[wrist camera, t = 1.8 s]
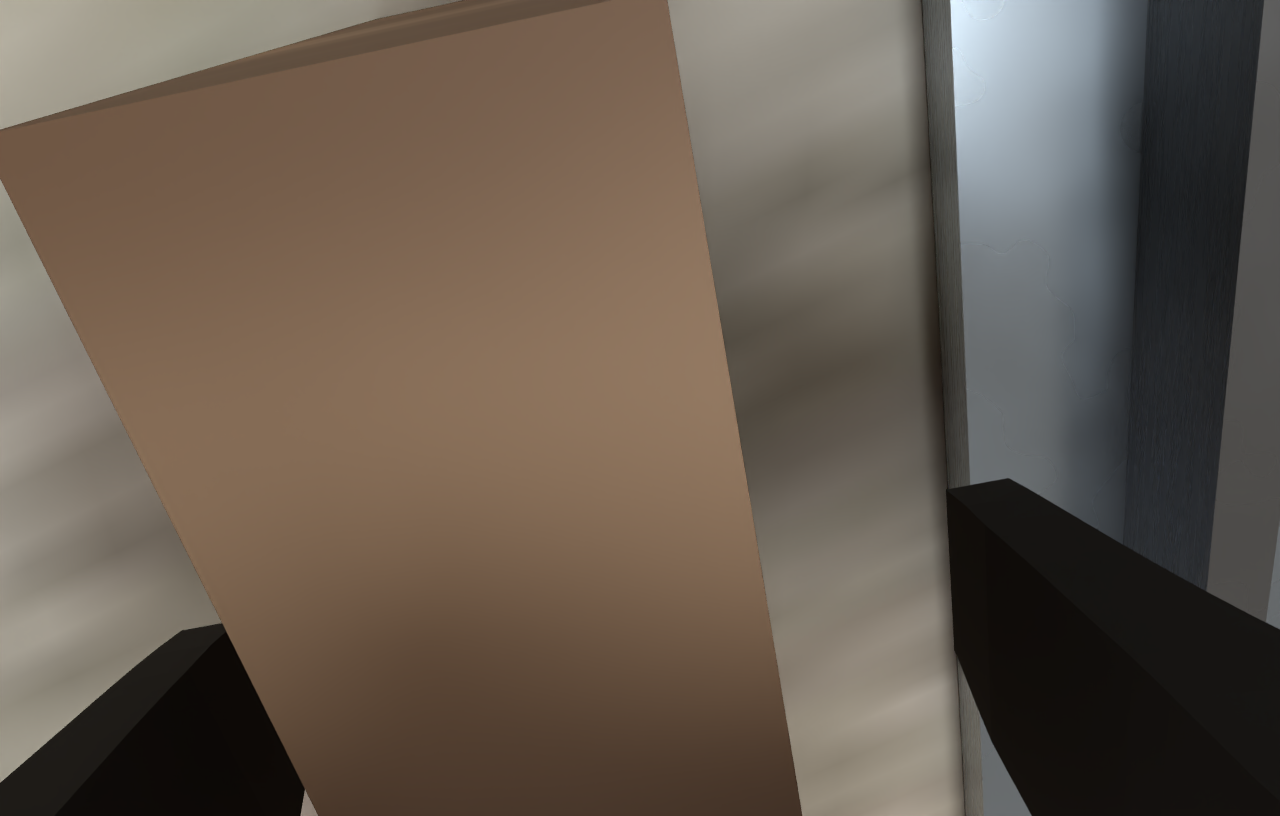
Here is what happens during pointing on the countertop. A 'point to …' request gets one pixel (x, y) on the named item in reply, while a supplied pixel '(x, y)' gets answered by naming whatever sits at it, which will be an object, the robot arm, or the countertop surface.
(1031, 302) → the track
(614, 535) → the door panel
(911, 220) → the countertop surface
